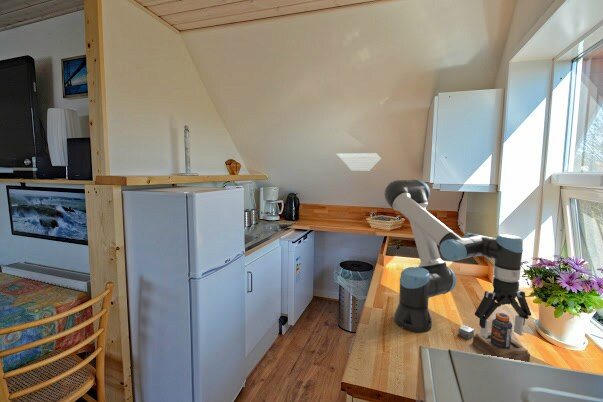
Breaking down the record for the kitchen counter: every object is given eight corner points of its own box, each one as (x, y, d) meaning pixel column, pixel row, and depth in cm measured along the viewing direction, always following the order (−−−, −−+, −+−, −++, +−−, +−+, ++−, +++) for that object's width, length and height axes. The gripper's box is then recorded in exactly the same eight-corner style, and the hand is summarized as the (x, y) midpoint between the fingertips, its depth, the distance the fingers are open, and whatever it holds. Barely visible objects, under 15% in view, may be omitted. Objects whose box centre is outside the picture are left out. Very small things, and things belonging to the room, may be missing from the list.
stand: (497, 364, 96) (498, 353, 95) (472, 342, 107) (473, 333, 107) (529, 361, 97) (530, 351, 96) (501, 340, 109) (502, 331, 108)
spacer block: (468, 339, 110) (469, 332, 109) (458, 334, 113) (458, 327, 113) (473, 336, 112) (474, 329, 112) (463, 331, 115) (463, 324, 115)
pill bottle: (486, 341, 103) (489, 312, 102) (496, 337, 106) (499, 309, 104) (503, 351, 98) (506, 320, 97) (514, 346, 100) (516, 317, 99)
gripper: (481, 284, 94) (476, 343, 96) (548, 281, 97) (541, 338, 99) (466, 275, 101) (462, 330, 104) (528, 273, 104) (523, 326, 106)
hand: (501, 334), depth 101 cm, fingers open, 13 cm apart
